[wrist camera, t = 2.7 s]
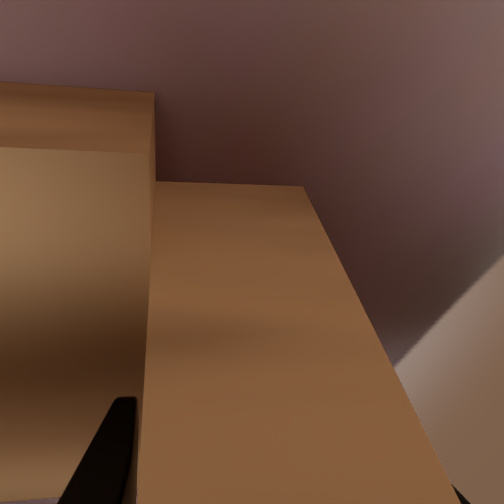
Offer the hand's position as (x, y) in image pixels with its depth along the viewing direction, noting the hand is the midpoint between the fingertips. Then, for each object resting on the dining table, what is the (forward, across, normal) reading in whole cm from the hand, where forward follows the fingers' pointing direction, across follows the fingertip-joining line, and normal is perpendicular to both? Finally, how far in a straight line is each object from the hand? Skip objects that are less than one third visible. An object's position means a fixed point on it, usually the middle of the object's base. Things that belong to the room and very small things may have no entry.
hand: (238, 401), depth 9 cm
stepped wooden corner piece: (+4, +2, 0) cm, 5 cm away
